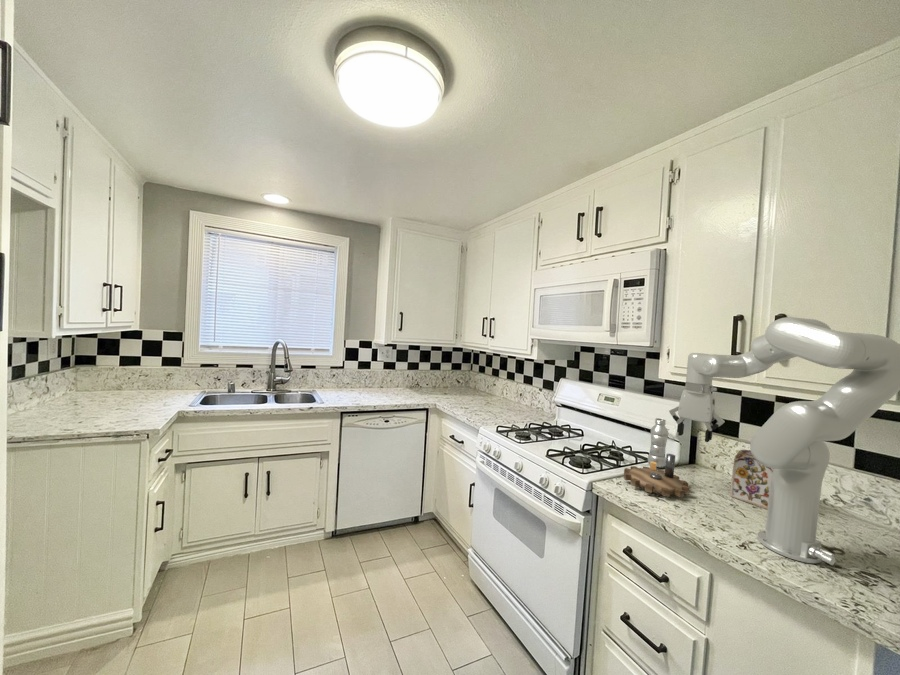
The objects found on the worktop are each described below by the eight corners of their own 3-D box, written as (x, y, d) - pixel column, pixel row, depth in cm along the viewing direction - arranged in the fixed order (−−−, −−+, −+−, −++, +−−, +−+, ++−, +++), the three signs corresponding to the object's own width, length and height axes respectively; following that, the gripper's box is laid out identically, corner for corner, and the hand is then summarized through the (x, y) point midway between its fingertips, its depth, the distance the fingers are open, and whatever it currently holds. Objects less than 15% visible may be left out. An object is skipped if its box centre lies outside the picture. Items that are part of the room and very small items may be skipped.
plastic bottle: (644, 462, 153) (648, 416, 152) (661, 464, 152) (665, 418, 151) (650, 468, 147) (655, 420, 146) (668, 470, 146) (672, 422, 145)
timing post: (655, 476, 138) (656, 464, 138) (649, 475, 139) (650, 462, 139) (655, 474, 140) (656, 462, 140) (649, 473, 141) (650, 461, 140)
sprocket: (658, 499, 115) (661, 469, 115) (611, 473, 135) (613, 447, 134) (703, 494, 122) (706, 465, 121) (652, 469, 141) (654, 444, 141)
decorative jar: (772, 512, 115) (778, 457, 114) (728, 496, 124) (733, 446, 124) (782, 503, 122) (787, 452, 121) (739, 489, 131) (744, 441, 131)
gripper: (731, 392, 120) (726, 443, 121) (673, 383, 133) (669, 430, 134) (726, 393, 115) (721, 447, 116) (666, 384, 128) (662, 433, 129)
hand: (693, 437), depth 125 cm, fingers open, 7 cm apart
